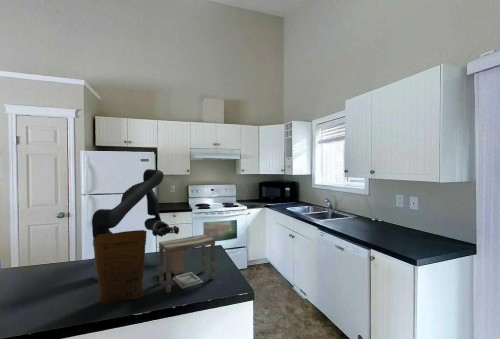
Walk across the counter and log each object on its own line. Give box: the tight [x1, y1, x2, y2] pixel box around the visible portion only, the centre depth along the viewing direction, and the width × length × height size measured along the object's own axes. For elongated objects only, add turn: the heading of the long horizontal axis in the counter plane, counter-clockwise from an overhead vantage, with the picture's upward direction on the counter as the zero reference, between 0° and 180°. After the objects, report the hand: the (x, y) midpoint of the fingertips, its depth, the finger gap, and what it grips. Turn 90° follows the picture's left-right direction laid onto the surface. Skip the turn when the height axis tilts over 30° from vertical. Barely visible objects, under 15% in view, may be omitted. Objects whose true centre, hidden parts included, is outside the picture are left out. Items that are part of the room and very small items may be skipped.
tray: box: [172, 271, 204, 289], centre depth 117 cm, size 12×10×2 cm
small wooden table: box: [158, 234, 216, 294], centre depth 117 cm, size 12×23×19 cm, turn 127°
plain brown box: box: [171, 250, 185, 276], centre depth 129 cm, size 7×5×12 cm
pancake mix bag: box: [92, 229, 148, 304], centre depth 100 cm, size 7×19×28 cm, turn 106°
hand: (169, 233), depth 138 cm, fingers open, 8 cm apart
